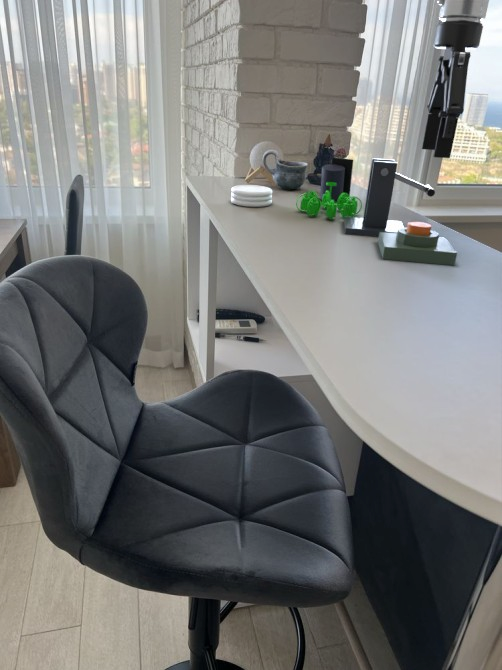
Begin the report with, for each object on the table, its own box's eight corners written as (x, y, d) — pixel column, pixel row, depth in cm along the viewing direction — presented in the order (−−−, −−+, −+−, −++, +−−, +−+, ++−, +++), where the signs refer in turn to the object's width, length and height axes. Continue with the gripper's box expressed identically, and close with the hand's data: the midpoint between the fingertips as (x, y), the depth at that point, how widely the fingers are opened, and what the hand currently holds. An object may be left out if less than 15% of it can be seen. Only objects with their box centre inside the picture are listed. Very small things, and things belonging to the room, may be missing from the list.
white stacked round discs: (258, 209, 117) (259, 194, 115) (222, 203, 121) (223, 188, 119) (279, 202, 124) (280, 188, 123) (244, 197, 129) (245, 182, 127)
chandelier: (355, 208, 123) (359, 179, 120) (365, 223, 109) (371, 191, 106) (293, 205, 123) (296, 175, 120) (296, 219, 110) (299, 186, 106)
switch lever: (426, 195, 103) (433, 184, 102) (431, 200, 98) (437, 188, 97) (372, 171, 102) (378, 159, 101) (374, 174, 98) (380, 162, 97)
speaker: (331, 195, 135) (336, 155, 130) (349, 200, 132) (354, 159, 127) (314, 201, 131) (318, 160, 125) (332, 206, 127) (337, 164, 122)
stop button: (427, 232, 91) (429, 222, 90) (431, 238, 87) (433, 227, 86) (404, 230, 91) (406, 220, 90) (407, 236, 88) (409, 226, 87)
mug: (308, 192, 139) (312, 154, 134) (263, 190, 138) (265, 152, 133) (302, 186, 147) (305, 149, 143) (259, 184, 146) (261, 147, 142)
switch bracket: (399, 226, 109) (412, 159, 102) (406, 239, 100) (420, 166, 94) (343, 222, 110) (352, 155, 104) (344, 233, 101) (354, 161, 95)
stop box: (442, 248, 95) (447, 227, 93) (454, 265, 86) (459, 242, 84) (377, 243, 96) (381, 222, 94) (382, 259, 87) (386, 236, 85)
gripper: (426, 29, 98) (406, 145, 107) (453, 11, 75) (424, 160, 85) (466, 30, 97) (442, 147, 106) (505, 12, 75) (471, 163, 84)
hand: (434, 153), depth 96 cm, fingers open, 13 cm apart
